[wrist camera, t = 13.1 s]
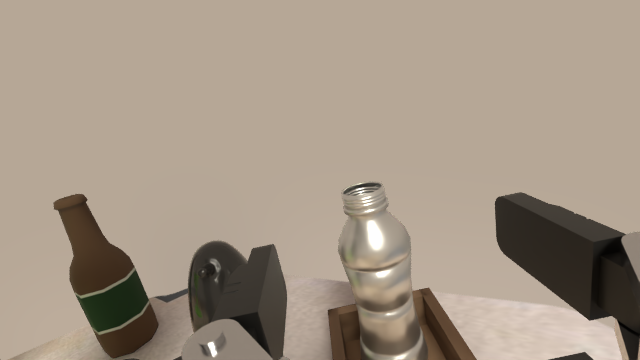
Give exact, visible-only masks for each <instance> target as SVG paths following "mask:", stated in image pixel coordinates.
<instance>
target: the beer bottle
mask: <svg viewBox="0 0 640 360" xmlns="http://www.w3.org/2000/svg"><path fill="white" fill-rule="evenodd" d="M86 201H87V198H86V197H85V196H84V195H83V194H75V195H71V196H68V197H64V198H62V199H59V200H57V201H55V202H54V209H55V210H58V211H59V214H60V216H61V219H62V222H63V224H64V227H65V230H66V232H67V235H68V237H69V240H70V242H71V245H72V250H73V255H74V257H73V260H72V263H71V266H70V282H71V285H72V288H73V290H74V293H75V294H76V297H77V298H78V301H79V303H80V305H81V307H82V309H83V311H84V313H85V315H86V317H87V319H88V321H89V323H90V325H91V327H92V329H93V331H94V333H95V335H96V337H97V339H98V341H99V343H100V344H101V346H102V348H103V349H104V351H105V352H106V353H107V354H108V355H109V356H110V357H112V358H116V357H119V356H123V355H126V354H130V353H133V352H134V351H136V350H137V349H138V348H140V347H141V346H142V345H144V344H145V343H146V342H148V341H149V340H151V339H152V337H153V335H154V333H155V331H156V329H157V327H158V322H157V319H156V316H155V313H154V311H153V309H152V306H151V304H150V302H149V299H148V297H147V295H146V292H145V290H144V288H143V285H142V283H141V281H140V278H139V276H138V274H137V271H136V269H135V267H134V265H133V263H132V261H131V259H130V257H129V256H128V255H126V254H125V253H124V252H123V251H122V250H121V249H119V248H118V247H115V246H114V245H112V244H110V243H109V242H108V241H107V239H106V238H105V236H104V235H103V234H102V232H101V230H100V228H99V226H98V224H97V223H96V221H95V219H94V217H93V215H92V213H91V211H90V209H89V208H88V206H87V204H86Z"/></svg>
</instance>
